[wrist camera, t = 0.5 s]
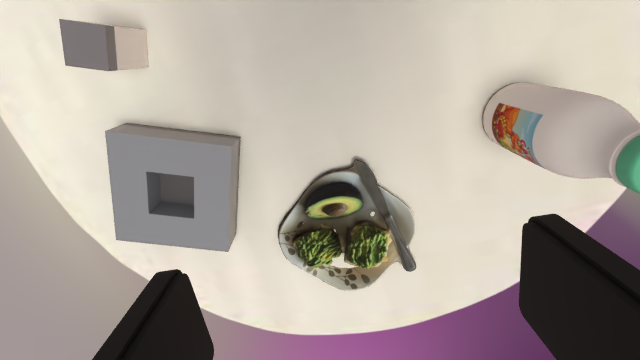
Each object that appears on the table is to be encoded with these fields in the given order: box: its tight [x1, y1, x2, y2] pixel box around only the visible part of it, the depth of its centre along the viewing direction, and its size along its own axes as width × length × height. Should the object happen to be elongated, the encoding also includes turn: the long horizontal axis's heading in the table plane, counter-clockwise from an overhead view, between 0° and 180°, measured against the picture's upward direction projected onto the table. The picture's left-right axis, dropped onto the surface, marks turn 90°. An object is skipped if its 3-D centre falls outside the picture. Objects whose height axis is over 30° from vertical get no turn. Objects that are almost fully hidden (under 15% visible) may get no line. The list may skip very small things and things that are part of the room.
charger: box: [59, 19, 148, 71], centre depth 35 cm, size 4×4×8 cm
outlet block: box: [105, 123, 240, 252], centre depth 43 cm, size 14×14×4 cm
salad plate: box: [278, 160, 416, 291], centre depth 46 cm, size 19×18×5 cm
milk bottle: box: [483, 83, 640, 193], centre depth 32 cm, size 8×8×20 cm
